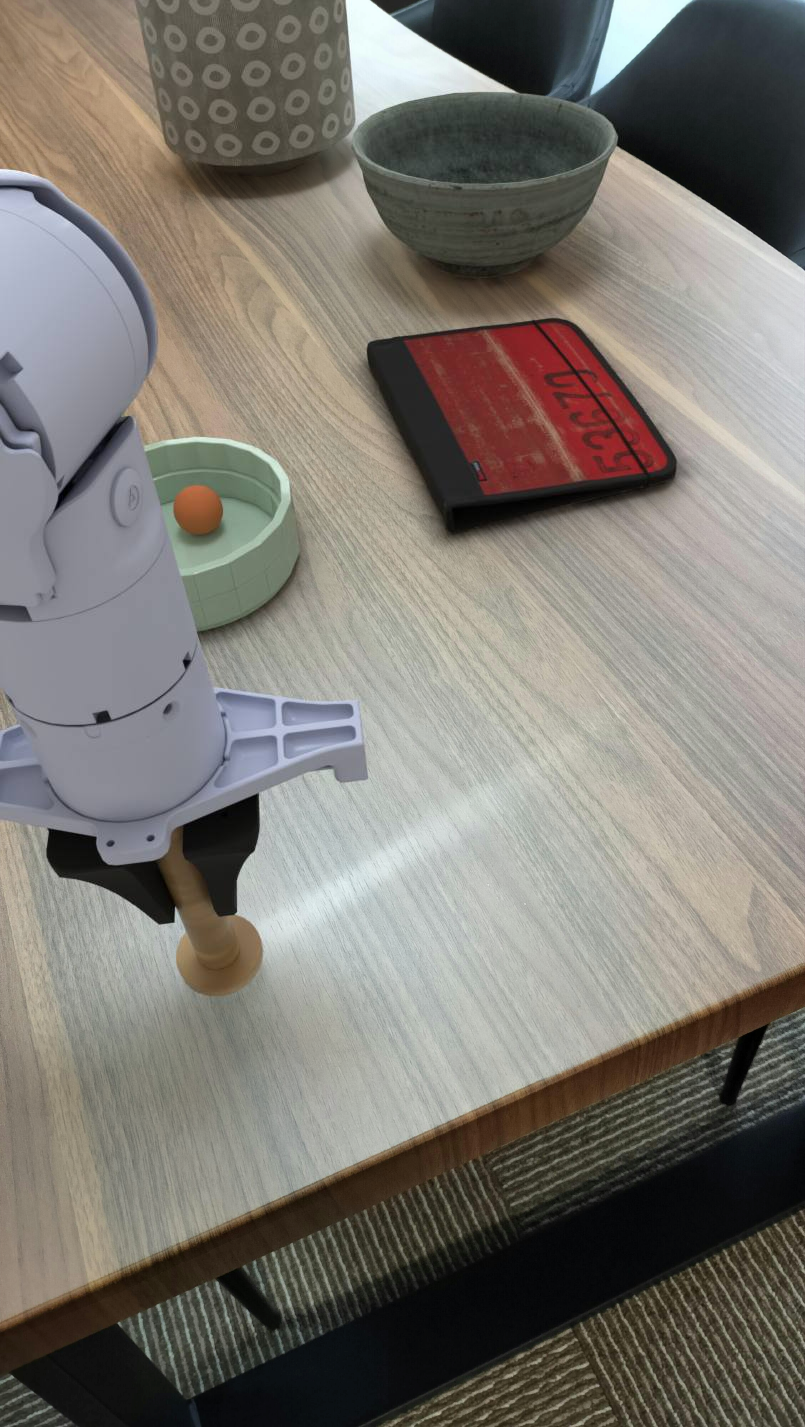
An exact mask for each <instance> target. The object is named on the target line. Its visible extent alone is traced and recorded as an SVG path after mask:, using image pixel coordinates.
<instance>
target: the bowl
mask: <svg viewBox="0 0 805 1427" xmlns="http://www.w3.org/2000/svg"><path fill="white" fill-rule="evenodd" d="M618 139H619V135H618V133H617V132H616V129H615V127H614V125H613V123H612V122H611V121H609V120H608V118H607V117H606V116H604V115H603V114H601V113H600V112H597V111H595V110H594V109H592V108H590V107H587V106H584V105H582V104H579V103H576V102H573V101H571V100H565V99H561V98H557V97H553V96H546V95H538V94H531V93H520V92H507V91H471V92H470V91H466V92H465V91H464V92H453V93H452V92H451V93H445V94H439V95H433V96H428V97H421V98H418V99H413V100H407V101H405V102H404V101H403V102H401V103H398V104H395V105H392V106H388V107H387V108H384V109H382V110H380V111H378V112H375V113H373V114H371V115H370V116H369V117H367V118H366V119H364V120H363V121H362V122H361V123H360V124H359V125H358V126H357V128H356V129H355V131H354V132H353V133H352V141H351V151H352V153H353V155H354V156H355V159H356V162H357V163H358V166H359V167H360V170H361V172H362V178H363V179H362V180H363V183H364V186H365V189H366V192H367V194H368V196H369V197H370V200H371V201H372V203H373V206H374V207H375V210H376V211H377V213H378V215H379V217H380V219H381V221H382V223H383V224H384V226H385V227H386V228H387V229H388V231H389V232H390V233H391V234H392V235H393V236H394V237H395V238H396V239H398V240H399V241H400V242H401V243H402V244H404V245H405V246H407V247H408V248H409V249H411V250H412V251H414V252H416V253H417V254H420V255H421V256H424V257H425V258H426V260H427V263H429V264H430V265H431V266H432V267H433V268H435V269H436V270H437V271H440V272H442V273H445V274H448V275H450V276H451V275H452V276H454V277H460V278H467V279H491V278H498V277H503V276H507V275H510V274H513V273H516V272H519V271H521V270H523V269H525V268H527V267H528V266H529V265H530V264H532V262H533V261H534V260H535V258H536V256H538V255H539V254H542V253H544V252H546V251H548V250H550V249H552V248H554V247H555V246H556V245H558V243H560V242H561V241H563V240H564V239H565V238H566V237H567V236H569V235H570V234H571V233H572V232H573V231H574V229H575V228H576V227H577V226H578V225H579V224H580V222H581V221H582V220H583V219H584V217H585V216H586V215H587V213H588V211H589V210H590V209H591V206H592V205H593V203H594V200H595V197H596V195H597V193H598V190H599V188H600V186H601V183H602V181H603V179H604V176H605V174H606V170H607V167H608V164H609V161H610V158H611V156H612V155H613V153H614V152H615V150H616V148H617V145H618Z"/></svg>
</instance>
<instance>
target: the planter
mask: <svg viewBox="0 0 805 1427" xmlns="http://www.w3.org/2000/svg"><path fill="white" fill-rule="evenodd" d="M134 4H135V9H136V14H137V18H138V23H139V27H140V33H141V37H142V41H143V46H144V50H145V51H144V52H145V56H146V60H147V64H148V70H149V75H150V78H151V84H152V89H153V94H154V97H155V103H156V107H157V113H158V117H159V121H160V126H161V131H162V135H163V140H164V143H165V145H166V147H167V148H168V149H169V150H170V151H171V153H173V154H175V155H177V156H179V157H181V158H182V159H183V158H184V159H186V160H188V161H192V162H195V163H199V164H204V165H205V164H206V165H208V166H210V167H212V168H214V169H217V170H220V171H223V172H225V173H226V172H227V173H231V174H235V175H241V176H251V177H254V176H270V175H275V174H280V173H283V172H287V171H290V170H293V169H295V168H297V167H299V166H301V165H302V164H305V163H307V162H308V161H310V160H312V159H313V158H315V157H316V156H318V155H319V154H320V153H321V152H323V151H324V150H326V149H328V148H329V147H332V146H334V145H336V144H338V143H339V142H341V141H343V140H344V139H345V138H346V137H348V136H349V134H350V133H351V132H352V130H354V127H355V125H356V108H355V96H354V94H355V93H354V84H353V83H354V82H353V72H352V60H351V48H350V36H349V35H350V34H349V22H348V11H347V0H134Z"/></svg>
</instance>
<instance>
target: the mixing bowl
mask: <svg viewBox="0 0 805 1427" xmlns="http://www.w3.org/2000/svg"><path fill="white" fill-rule="evenodd" d="M143 447H144V450H145V453H146V457H147V460H148V464H149V467H150V471H151V474H152V478H153V481H154V484H155V488H156V491H157V495H158V498H159V502H160V505H161V509H162V512H163V516H164V519H165V523H166V526H167V530H168V533H169V536H170V540H171V543H172V547H173V550H174V554H175V557H176V561H177V564H178V567H179V571H180V574H181V578H182V581H183V585H184V588H185V592H186V595H187V598H188V602H189V605H190V609H191V612H192V616H193V619H194V623H195V627H196V631H197V632H203V631H207V630H212V629H215V628H220V627H222V626H225V625H227V624H231V623H233V622H235V621H238V620H239V619H242V618H245V617H246V616H249V615H250V614H251V613H253V612H255V611H258V609H260V608H261V607H262V606H264V605H265V604H267V603H268V602H269V601H270V600H271V599H272V598H273V597H274V596H275V595H276V594H277V593H279V591H280V590H281V589H282V588H283V587H284V586H285V583H286V582H287V580H289V577H290V576H291V574H292V572H293V569H294V566H295V564H296V562H297V560H298V557H299V554H300V551H301V550H300V549H301V548H300V536H299V535H300V534H299V526H298V521H297V514H296V508H295V504H294V503H295V502H294V498H293V491H292V486H291V480H290V478H289V476H288V475H287V473H286V472H285V470H284V468H283V467H282V466H281V464H280V462H279V461H278V460H277V459H275V458H274V457H272V456H271V455H269V454H268V453H266V452H264V450H262V449H260V448H258V447H257V446H256V445H255V446H254V445H251V444H248V443H244V442H241V441H237V440H234V439H231V438H226V437H225V438H223V437H211V436H210V437H208V436H192V437H191V436H190V437H182V438H173V439H165V440H159V441H158V442H154V443H150V444H147V445H143ZM192 485H202V486H206V487H208V488H210V489H212V490H213V491H214V492H215V493H216V494H217V495H218V496H219V498H220V500H221V502H222V506H223V516H222V520H221V522H220V524H219V525H218V526H217V527H216V528H215V529H214V530H213V531H211V532H209V533H207V534H203V535H196V534H191V533H189V532H187V531H185V530H184V529H182V528H181V527H180V526H179V524H178V523H177V521H176V519H175V517H174V512H173V506H174V502H175V499H176V497H177V495H178V494H179V493H180V492H181V491H182V490H183V489H185V488H186V487H189V486H192Z"/></svg>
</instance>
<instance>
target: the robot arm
mask: <svg viewBox="0 0 805 1427" xmlns="http://www.w3.org/2000/svg"><path fill="white" fill-rule="evenodd" d="M157 319H158V318H157V314H156V311H155V306H154V303H153V299H152V297H151V294H150V291H149V289H148V286H147V284H146V283H145V280H144V278H143V276H142V274H141V273H140V271H139V269H138V267H137V265H136V264H135V263H134V260H133V259H132V258H131V256H130V255H129V253H128V252H127V250H125V248H124V247H123V246H122V244H121V243H120V242H119V240H117V238H116V237H115V236H114V235H113V234H112V233H111V232H110V231H109V230H108V228H106V227H105V226H104V225H103V224H102V223H101V222H100V221H99V220H97V218H96V217H94V216H93V215H91V213H89V212H88V211H87V210H85V209H84V208H82V207H81V206H80V205H78V204H76V203H75V202H73V201H71V199H69V198H68V197H67V196H66V195H65V194H64V193H63V192H62V191H61V190H60V189H59V188H58V187H57V186H56V185H55V184H54V183H52V182H51V181H50V180H48V179H47V178H44V177H41V176H39V175H35V174H32V173H29V172H25V171H21V170H14V169H8V168H7V169H6V168H0V689H1V691H2V693H3V695H4V697H5V699H6V701H7V703H8V705H9V707H10V708H11V710H12V713H13V714H14V716H15V718H16V720H17V722H18V723H17V724H15V725H12V726H10V727H7V728H4V729H2V730H0V820H1V821H6V822H12V823H17V824H24V825H27V826H28V825H29V826H35V827H41V828H46V829H47V831H48V832H47V833H48V834H47V841H46V848H45V856H46V859H47V862H48V864H49V865H50V866H49V867H51V869H52V870H53V871H54V873H55V874H56V876H58V878H59V879H69V880H76V881H79V882H85V883H88V884H92V885H95V886H98V887H100V888H103V889H105V890H106V891H110V892H111V893H113V894H115V895H117V896H119V897H121V898H122V899H124V900H125V901H127V902H129V903H130V904H131V905H133V906H134V907H136V908H137V909H138V910H139V911H141V912H142V913H143V914H145V915H146V916H147V917H149V918H150V919H151V920H152V921H153V922H155V923H156V924H158V926H160V925H168V924H175V922H176V907H175V904H174V902H173V900H172V897H171V895H170V893H169V891H168V888H167V886H166V884H165V881H164V879H163V877H162V874H161V872H160V870H159V867H158V865H157V863H156V859H159V858H162V857H163V856H164V855H165V854H166V853H167V852H168V850H169V847H170V838H171V833H172V831H173V830H174V829H175V828H177V827H179V826H181V825H183V849H182V852H183V855H184V858H185V860H188V861H189V862H191V863H192V864H193V865H194V866H195V867H196V868H197V869H198V871H199V872H200V874H201V875H202V877H203V879H204V880H205V882H206V884H207V887H208V890H209V894H210V898H211V901H212V905H213V908H214V911H215V912H216V914H217V915H218V916H219V917H223V916H230V915H237V914H238V878H239V875H240V873H241V870H242V868H243V866H244V864H245V863H246V861H247V860H248V858H249V857H250V856H251V855H253V853H254V852H255V851H256V848H257V844H258V841H259V836H260V830H261V817H260V816H261V814H260V813H261V812H260V793H262V792H265V791H266V790H269V789H271V788H274V787H276V786H279V785H281V784H283V783H286V782H288V781H290V780H293V779H295V778H297V777H301V776H302V775H305V774H307V773H311V772H318V771H319V772H320V771H327V770H333V774H334V778H335V780H336V782H338V783H343V784H345V783H352V782H360V781H361V782H362V781H367V780H368V779H369V771H368V764H367V754H366V746H365V739H364V737H365V736H364V730H363V721H362V716H361V715H362V714H361V709H360V708H361V707H360V700H359V699H343V700H310V699H301V698H300V699H299V698H293V697H287V696H286V697H285V696H278V695H272V694H264V693H259V692H251V691H245V690H237V689H231V688H230V689H229V688H223V687H216V686H213V682H212V679H211V675H210V672H209V669H208V666H207V662H206V657H205V655H204V651H203V649H202V644H201V642H200V641H201V640H200V638H199V635H198V634H199V633H198V631H196V627H195V623H194V619H193V616H192V612H191V609H190V605H189V602H188V598H187V595H186V592H185V588H184V585H183V581H182V578H181V574H180V571H179V567H178V564H177V561H176V557H175V554H174V550H173V547H172V543H171V540H170V536H169V533H168V530H167V526H166V523H165V519H164V516H163V512H162V509H161V505H160V502H159V498H158V495H157V491H156V488H155V484H154V481H153V478H152V474H151V471H150V467H149V464H148V460H147V457H146V453H145V450H144V444H143V440H142V437H141V432H140V428H139V427H138V426H139V425H138V422H137V420H136V417H134V416H131V415H125V416H122V415H124V414H125V412H126V411H127V409H128V408H129V407H130V406H131V405H132V403H133V402H134V401H135V399H137V397H138V396H139V394H140V391H141V390H142V387H143V386H144V383H145V381H146V380H147V378H148V376H149V375H150V373H151V372H152V370H153V367H154V365H155V361H156V357H157V355H158V354H157V353H158V347H159V327H158V326H159V325H158V320H157Z"/></svg>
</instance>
